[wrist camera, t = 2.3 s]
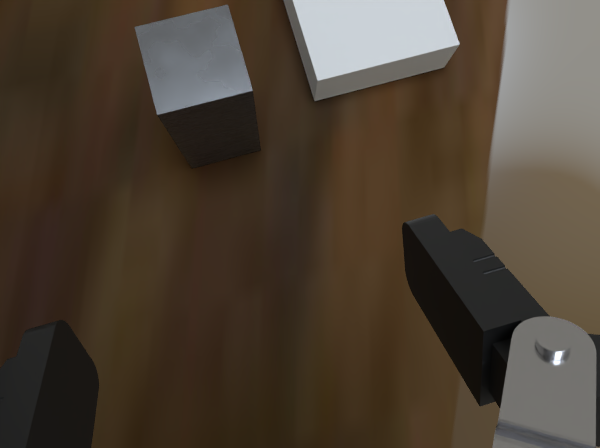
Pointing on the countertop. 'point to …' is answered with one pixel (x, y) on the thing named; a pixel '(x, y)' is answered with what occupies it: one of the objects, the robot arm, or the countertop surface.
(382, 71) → the white square hole block
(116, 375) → the countertop surface
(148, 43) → the steel square peg
